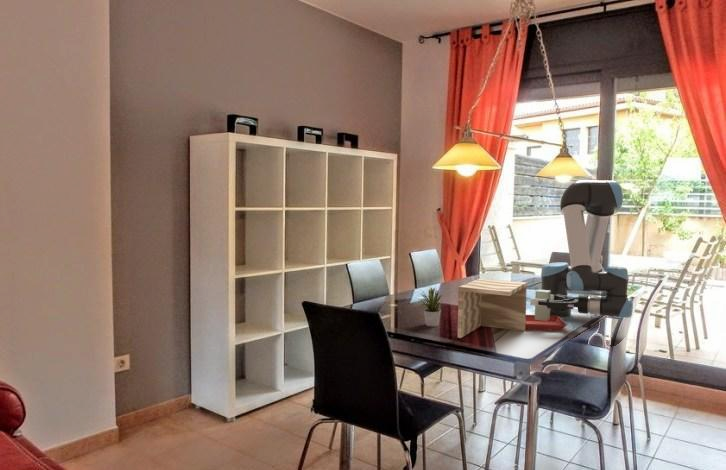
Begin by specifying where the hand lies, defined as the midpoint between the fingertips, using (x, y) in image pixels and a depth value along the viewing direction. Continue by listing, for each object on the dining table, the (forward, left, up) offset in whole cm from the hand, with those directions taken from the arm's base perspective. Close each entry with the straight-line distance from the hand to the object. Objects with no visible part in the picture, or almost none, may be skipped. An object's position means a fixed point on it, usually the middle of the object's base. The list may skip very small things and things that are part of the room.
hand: (534, 299), depth 225 cm
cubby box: (+24, -10, -11) cm, 28 cm away
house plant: (+22, -38, -11) cm, 45 cm away
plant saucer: (0, +2, -12) cm, 12 cm away
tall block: (0, +3, -8) cm, 9 cm away
